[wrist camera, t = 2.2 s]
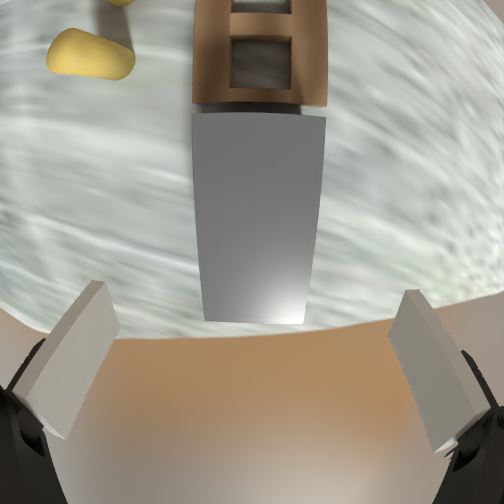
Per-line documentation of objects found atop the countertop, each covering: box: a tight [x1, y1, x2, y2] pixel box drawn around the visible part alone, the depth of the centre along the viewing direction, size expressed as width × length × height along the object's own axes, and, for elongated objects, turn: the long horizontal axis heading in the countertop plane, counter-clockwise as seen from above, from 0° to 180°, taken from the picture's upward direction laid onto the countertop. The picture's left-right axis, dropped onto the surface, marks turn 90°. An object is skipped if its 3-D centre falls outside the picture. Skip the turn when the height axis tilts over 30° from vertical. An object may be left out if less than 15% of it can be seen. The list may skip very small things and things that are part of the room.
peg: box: [46, 28, 135, 80], centre depth 17 cm, size 4×4×10 cm
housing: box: [192, 112, 326, 324], centre depth 23 cm, size 8×16×10 cm, turn 179°
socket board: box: [192, 0, 328, 107], centre depth 19 cm, size 12×16×2 cm
